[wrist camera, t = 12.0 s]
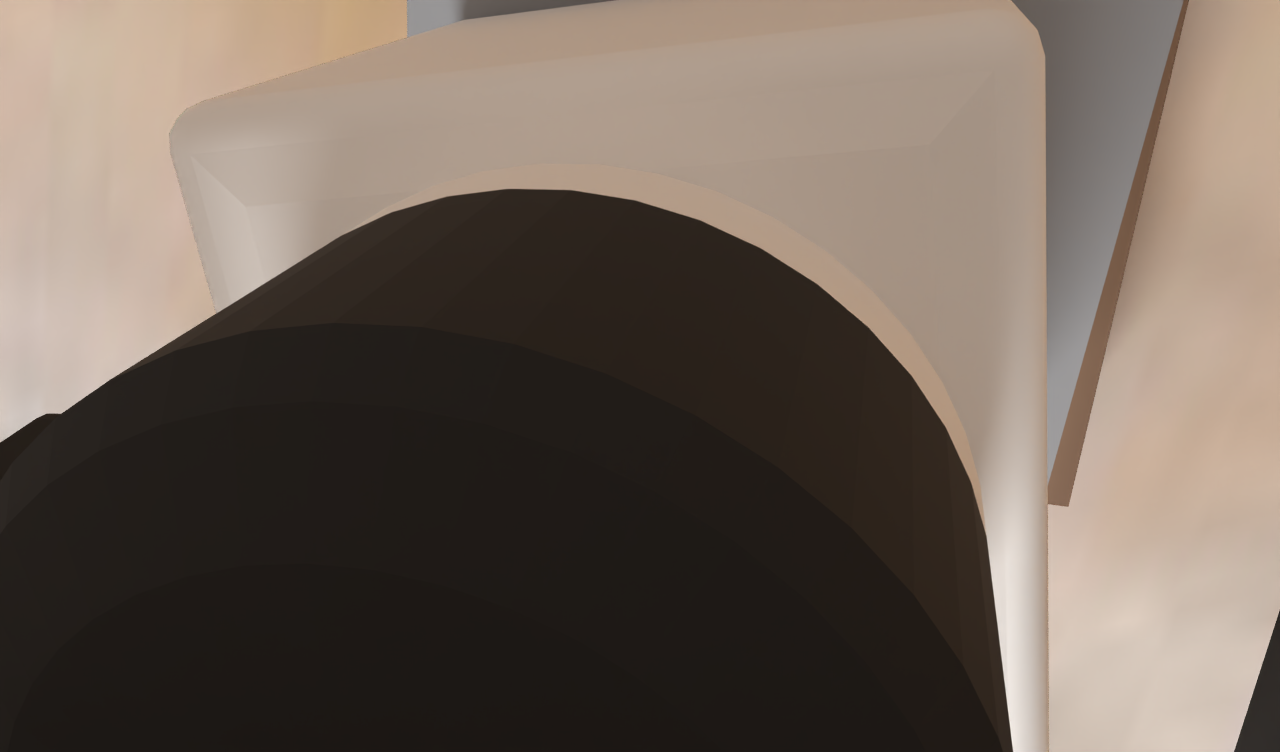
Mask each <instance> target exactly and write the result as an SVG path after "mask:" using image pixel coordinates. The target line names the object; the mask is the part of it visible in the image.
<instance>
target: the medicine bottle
mask: <svg viewBox="0 0 1280 752" xmlns="http://www.w3.org/2000/svg"><path fill="white" fill-rule="evenodd" d="M169 139H170V154H171V157H172V161H173V164H174V168H175V171H176V175H177V178H178V182H179V185H180V189H181V192H182V196H183V199H184V203H185V206H186V210H187V213H188V217H189V220H190V224H191V227H192V231H193V234H194V238H195V241H196V245H197V248H198V252H199V255H200V259H201V262H202V266H203V269H204V273H205V276H206V280H207V283H208V287H209V290H210V294H211V297H212V301H213V304H214V308H215V311H216V314H215V315H213V316H212V317H210V318H208V319H207V320H205V321H204V322H202V323H200V324H199V325H197V326H196V327H194V328H192V329H191V330H189V331H188V332H186V333H184V334H183V335H181V336H180V337H178V338H176V339H175V340H173V341H172V342H170V343H168V344H167V345H165V346H164V347H162V348H160V349H159V350H157V351H156V352H154V353H152V354H151V355H149V356H148V357H146V358H144V359H143V360H141V361H140V362H138V363H136V364H135V365H133V366H132V367H130V368H128V369H127V370H125V371H124V372H122V373H120V374H119V375H117V376H116V377H114V378H112V379H111V380H109V381H108V382H106V383H105V384H104V385H102V386H101V387H99V388H98V389H96V390H95V391H93V392H92V393H91V394H89V395H88V396H86V397H85V398H83V399H82V400H81V401H79V402H78V403H76V404H75V405H73V406H72V407H70V408H69V409H68V410H66V411H65V412H63V413H62V414H60V415H59V416H58V417H56V418H55V419H54V420H53V421H52V422H51V423H50V424H49V425H48V426H47V427H46V428H45V429H44V430H43V431H42V432H41V433H40V434H39V435H38V436H37V438H36V439H35V440H34V441H33V442H32V443H31V444H30V445H29V446H28V447H27V448H26V449H25V450H24V451H23V452H22V453H21V454H20V455H19V456H18V457H17V458H16V459H15V460H14V461H13V462H12V464H11V465H10V467H9V468H8V470H7V471H6V473H5V475H4V476H3V478H2V479H1V481H0V752H1049V681H1048V487H1047V292H1046V98H1045V53H1044V50H1043V47H1042V43H1041V40H1040V36H1039V33H1038V30H1037V29H1036V28H1035V26H1034V25H1033V24H1032V23H1031V22H1030V21H1029V20H1028V19H1027V18H1026V16H1025V15H1024V14H1023V13H1022V12H1021V11H1020V10H1019V9H1018V7H1017V6H1016V5H1015V4H1014V3H1013V2H1012V1H1011V0H614V1H606V2H599V3H591V4H583V5H575V6H568V7H560V8H552V9H545V10H537V11H529V12H521V13H514V14H506V15H498V16H490V17H483V18H475V19H467V20H462V21H459V22H456V23H453V24H449V25H446V26H443V27H440V28H436V29H433V30H430V31H427V32H424V33H420V34H417V35H414V36H411V37H408V38H404V39H401V40H398V41H395V42H391V43H388V44H385V45H382V46H379V47H375V48H372V49H369V50H366V51H362V52H359V53H356V54H353V55H350V56H346V57H343V58H340V59H337V60H333V61H330V62H327V63H324V64H321V65H317V66H314V67H311V68H308V69H305V70H301V71H298V72H295V73H292V74H288V75H285V76H282V77H279V78H276V79H272V80H269V81H266V82H263V83H259V84H256V85H253V86H250V87H247V88H243V89H240V90H237V91H234V92H231V93H227V94H224V95H221V96H218V97H214V98H211V99H208V100H205V101H202V102H200V103H198V104H196V105H194V106H191V107H189V108H187V109H186V110H185V111H184V112H183V113H182V114H181V115H180V116H179V117H178V118H177V120H176V122H175V123H174V125H173V127H172V129H171V131H170V133H169Z"/></svg>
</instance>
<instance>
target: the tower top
mask: <svg viewBox="0 0 1280 752" xmlns="http://www.w3.org/2000/svg"><path fill="white" fill-rule="evenodd" d="M606 1H614V0H407V38H408V37H411V36H414V35H417V34H420V33H424V32H427V31H430V30H433V29H436V28H440V27H443V26H446V25H449V24H453V23H456V22H459V21H462V20H467V19H475V18H483V17H490V16H498V15H506V14H514V13H521V12H529V11H537V10H545V9H552V8H560V7H568V6H575V5H583V4H591V3H599V2H606ZM1011 1H1012V2H1013V3H1014V4H1015V5H1016V6H1017V7H1018V9H1019V10H1020V11H1021V12H1022V13H1023V14H1024V15H1025V16H1026V18H1027V19H1028V20H1029V21H1030V22H1031V23H1032V24H1033V25H1034V26H1035V28H1036V29H1037V30H1038V33H1039V36H1040V40H1041V43H1042V47H1043V50H1044V53H1045V98H1046V292H1047V486H1048V483H1049V479H1050V476H1051V472H1052V469H1053V465H1054V461H1055V458H1056V454H1057V451H1058V447H1059V444H1060V440H1061V436H1062V433H1063V429H1064V426H1065V422H1066V419H1067V415H1068V411H1069V408H1070V404H1071V401H1072V397H1073V394H1074V390H1075V386H1076V383H1077V379H1078V376H1079V372H1080V368H1081V365H1082V361H1083V358H1084V354H1085V351H1086V347H1087V343H1088V340H1089V336H1090V333H1091V329H1092V326H1093V322H1094V318H1095V315H1096V311H1097V308H1098V304H1099V301H1100V297H1101V293H1102V290H1103V286H1104V283H1105V279H1106V276H1107V272H1108V268H1109V265H1110V261H1111V258H1112V254H1113V251H1114V247H1115V243H1116V240H1117V236H1118V233H1119V229H1120V226H1121V222H1122V218H1123V215H1124V211H1125V208H1126V204H1127V201H1128V197H1129V193H1130V190H1131V186H1132V183H1133V179H1134V176H1135V172H1136V168H1137V165H1138V161H1139V158H1140V154H1141V151H1142V147H1143V143H1144V140H1145V136H1146V133H1147V129H1148V126H1149V122H1150V118H1151V115H1152V111H1153V108H1154V104H1155V101H1156V97H1157V93H1158V90H1159V86H1160V83H1161V79H1162V76H1163V72H1164V68H1165V65H1166V61H1167V58H1168V54H1169V51H1170V47H1171V43H1172V40H1173V36H1174V33H1175V29H1176V26H1177V22H1178V18H1179V15H1180V11H1181V8H1182V4H1183V0H1011Z"/></svg>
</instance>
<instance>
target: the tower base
mask: <svg viewBox="0 0 1280 752" xmlns="http://www.w3.org/2000/svg"><path fill="white" fill-rule="evenodd" d="M1188 1H1189V0H1183V4H1182V8H1181V11H1180V15H1179V18H1178V22H1177V26H1176V29H1175V33H1174V36H1173V40H1172V43H1171V47H1170V51H1169V54H1168V58H1167V61H1166V65H1165V68H1164V72H1163V76H1162V79H1161V83H1160V86H1159V90H1158V93H1157V97H1156V101H1155V104H1154V108H1153V111H1152V115H1151V118H1150V122H1149V126H1148V129H1147V133H1146V136H1145V140H1144V143H1143V147H1142V151H1141V154H1140V158H1139V161H1138V165H1137V168H1136V172H1135V176H1134V179H1133V183H1132V186H1131V190H1130V193H1129V197H1128V201H1127V204H1126V208H1125V211H1124V215H1123V218H1122V222H1121V226H1120V229H1119V233H1118V236H1117V240H1116V243H1115V247H1114V251H1113V254H1112V258H1111V261H1110V265H1109V268H1108V272H1107V276H1106V279H1105V283H1104V286H1103V290H1102V293H1101V297H1100V301H1099V304H1098V308H1097V311H1096V315H1095V318H1094V322H1093V326H1092V329H1091V333H1090V336H1089V340H1088V343H1087V347H1086V351H1085V354H1084V358H1083V361H1082V365H1081V368H1080V372H1079V376H1078V379H1077V383H1076V386H1075V390H1074V394H1073V397H1072V401H1071V404H1070V408H1069V411H1068V415H1067V419H1066V422H1065V426H1064V429H1063V433H1062V436H1061V440H1060V444H1059V447H1058V451H1057V454H1056V458H1055V461H1054V465H1053V469H1052V472H1051V476H1050V479H1049V483H1048V486H1047V487H1048V504H1052V505H1059V506H1067V507H1068V506H1069V502H1070V497H1071V493H1072V489H1073V485H1074V481H1075V476H1076V472H1077V468H1078V464H1079V460H1080V455H1081V451H1082V447H1083V443H1084V439H1085V434H1086V430H1087V426H1088V422H1089V418H1090V413H1091V409H1092V405H1093V401H1094V397H1095V392H1096V388H1097V384H1098V380H1099V376H1100V371H1101V367H1102V363H1103V359H1104V355H1105V350H1106V346H1107V342H1108V338H1109V334H1110V329H1111V325H1112V321H1113V317H1114V313H1115V308H1116V304H1117V300H1118V296H1119V291H1120V287H1121V283H1122V279H1123V275H1124V270H1125V266H1126V262H1127V258H1128V254H1129V249H1130V245H1131V241H1132V237H1133V233H1134V228H1135V224H1136V220H1137V216H1138V212H1139V207H1140V203H1141V199H1142V195H1143V191H1144V186H1145V182H1146V178H1147V174H1148V170H1149V165H1150V161H1151V157H1152V153H1153V149H1154V144H1155V140H1156V136H1157V132H1158V128H1159V123H1160V119H1161V115H1162V111H1163V107H1164V102H1165V98H1166V94H1167V90H1168V85H1169V81H1170V77H1171V73H1172V69H1173V64H1174V60H1175V56H1176V52H1177V48H1178V43H1179V39H1180V35H1181V31H1182V27H1183V22H1184V18H1185V14H1186V10H1187V6H1188Z"/></svg>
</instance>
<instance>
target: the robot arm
mask: <svg viewBox="0 0 1280 752" xmlns="http://www.w3.org/2000/svg"><path fill="white" fill-rule="evenodd" d="M59 415H60V414H45V415H43V416H41V417H39V418H36V419H35V420H33V421H32V422H31V423H29V424H28V425H26V426H25V427H23V428H22V429H20V430H19V431H17V432H16V433H14V434H13V435H11V436H10V437H8V438H7V439H5V440H4V441H2V442H1V443H0V481H1V479H2V478H3V476H4V475H5V473H6V471H7V470H8V468H9V467H10V465H11V464H12V462H13V461H14V460H15V459H16V458H17V457H18V456H19V455H20V454H21V453H22V452H23V451H24V450H25V449H26V448H27V447H28V446H29V445H30V444H31V443H32V442H33V441H34V440H35V439H36V438H37V436H38V435H39V434H40V433H41V432H42V431H43V430H44V429H45V428H46V427H47V426H48V425H49V424H50V423H51V422H52V421H53V420H54V419H55V418H56V417H58V416H59ZM1234 752H1280V611H1279V615H1278V618H1277V621H1276V624H1275V627H1274V630H1273V633H1272V636H1271V639H1270V642H1269V646H1268V649H1267V652H1266V655H1265V658H1264V661H1263V664H1262V667H1261V670H1260V673H1259V677H1258V680H1257V683H1256V686H1255V689H1254V692H1253V695H1252V698H1251V701H1250V704H1249V708H1248V711H1247V714H1246V717H1245V720H1244V723H1243V726H1242V729H1241V732H1240V735H1239V739H1238V742H1237V745H1236V748H1235V751H1234Z"/></svg>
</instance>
